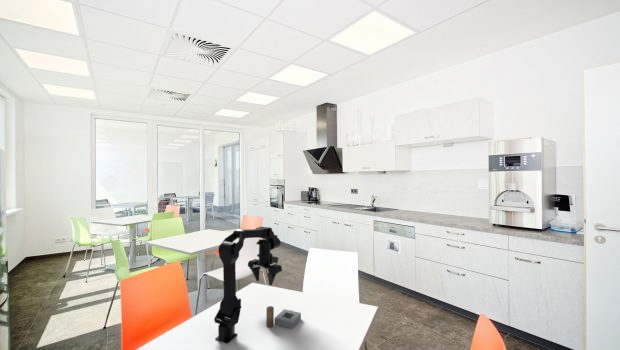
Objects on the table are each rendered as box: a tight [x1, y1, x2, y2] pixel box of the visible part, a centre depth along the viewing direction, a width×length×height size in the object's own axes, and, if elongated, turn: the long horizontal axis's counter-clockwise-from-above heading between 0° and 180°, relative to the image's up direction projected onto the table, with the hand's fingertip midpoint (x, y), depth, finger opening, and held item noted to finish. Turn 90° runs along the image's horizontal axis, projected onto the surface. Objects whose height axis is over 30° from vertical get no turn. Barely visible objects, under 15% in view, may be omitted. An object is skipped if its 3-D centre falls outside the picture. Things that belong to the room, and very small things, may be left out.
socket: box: [274, 308, 302, 330], centre depth 127 cm, size 9×9×3 cm
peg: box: [265, 305, 275, 329], centre depth 124 cm, size 3×3×8 cm
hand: (264, 283), depth 138 cm, fingers open, 9 cm apart
